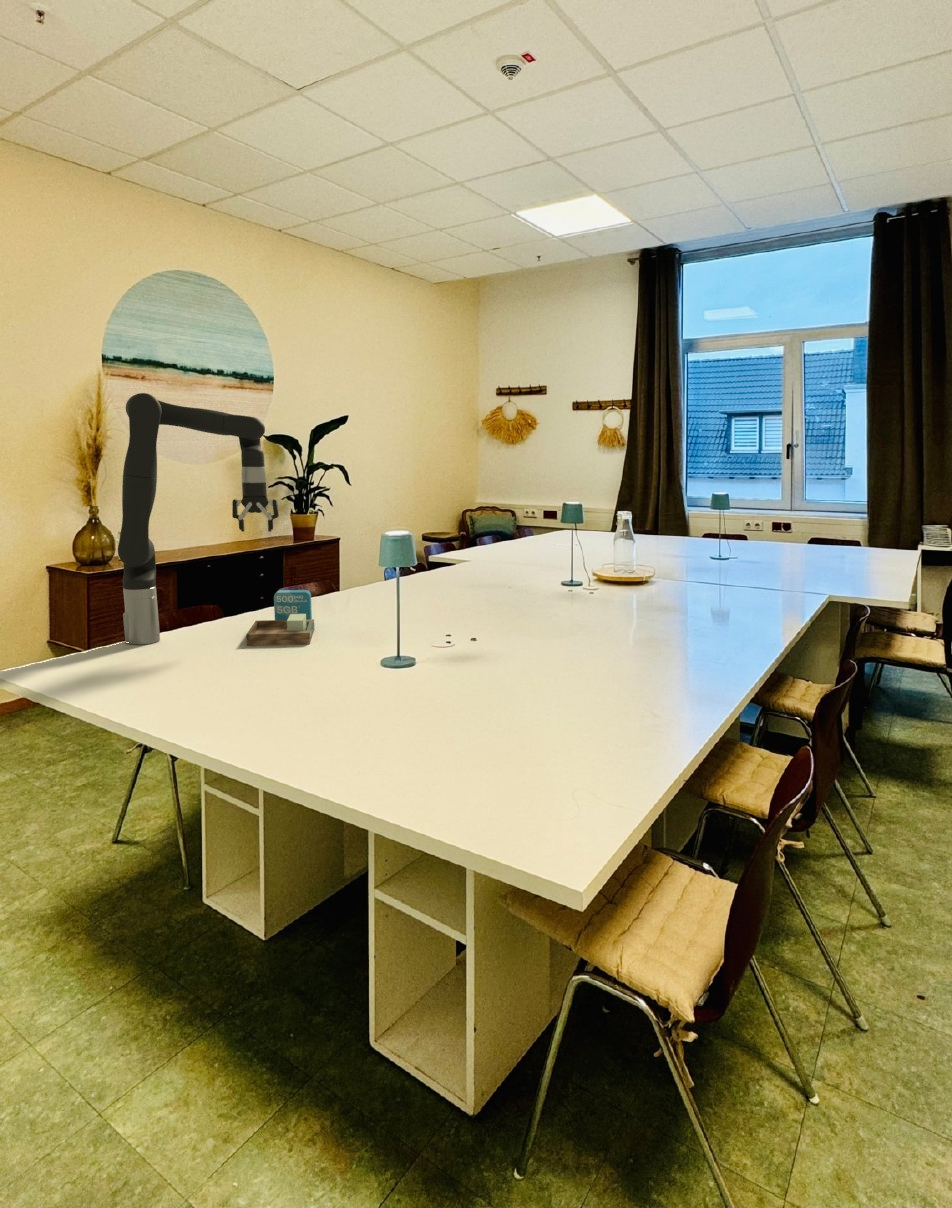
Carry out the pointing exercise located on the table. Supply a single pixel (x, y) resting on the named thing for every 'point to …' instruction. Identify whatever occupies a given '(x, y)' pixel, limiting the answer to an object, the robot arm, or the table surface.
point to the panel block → (296, 622)
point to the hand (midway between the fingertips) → (256, 531)
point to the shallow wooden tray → (278, 633)
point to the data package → (292, 603)
